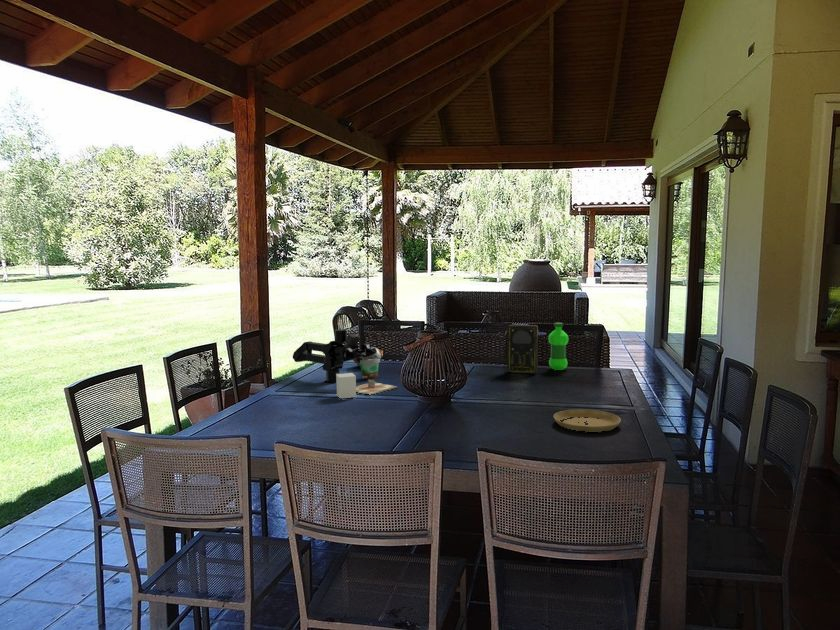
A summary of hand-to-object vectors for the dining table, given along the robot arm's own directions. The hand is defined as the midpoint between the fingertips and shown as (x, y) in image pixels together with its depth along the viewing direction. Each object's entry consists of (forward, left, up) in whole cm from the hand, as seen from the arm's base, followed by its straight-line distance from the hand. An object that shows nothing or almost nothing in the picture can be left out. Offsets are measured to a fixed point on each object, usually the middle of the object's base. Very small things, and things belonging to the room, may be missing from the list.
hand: (368, 354), depth 297 cm
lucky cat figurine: (-38, +38, -17) cm, 57 cm away
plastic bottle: (+50, +92, -17) cm, 106 cm away
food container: (-15, +18, -17) cm, 29 cm away
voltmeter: (+39, +75, -17) cm, 86 cm away
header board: (+3, -1, -16) cm, 17 cm away
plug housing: (+4, -18, -17) cm, 25 cm away
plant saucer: (+108, +6, -17) cm, 109 cm away
